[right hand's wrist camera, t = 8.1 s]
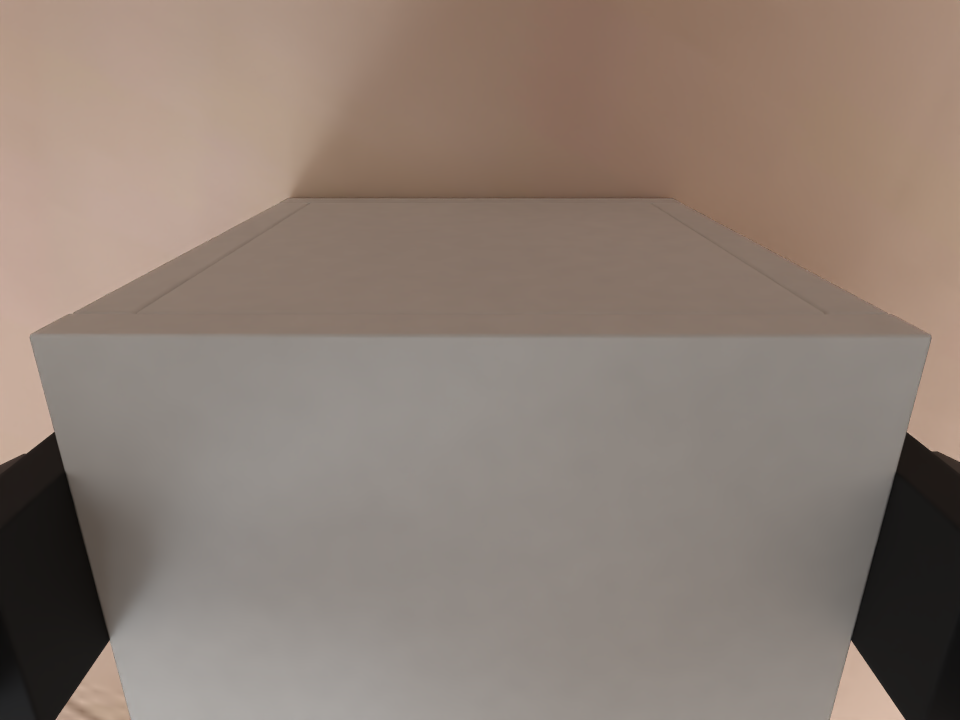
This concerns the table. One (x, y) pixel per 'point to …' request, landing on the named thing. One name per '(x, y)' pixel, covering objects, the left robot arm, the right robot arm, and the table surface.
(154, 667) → the cabinet
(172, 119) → the table surface
